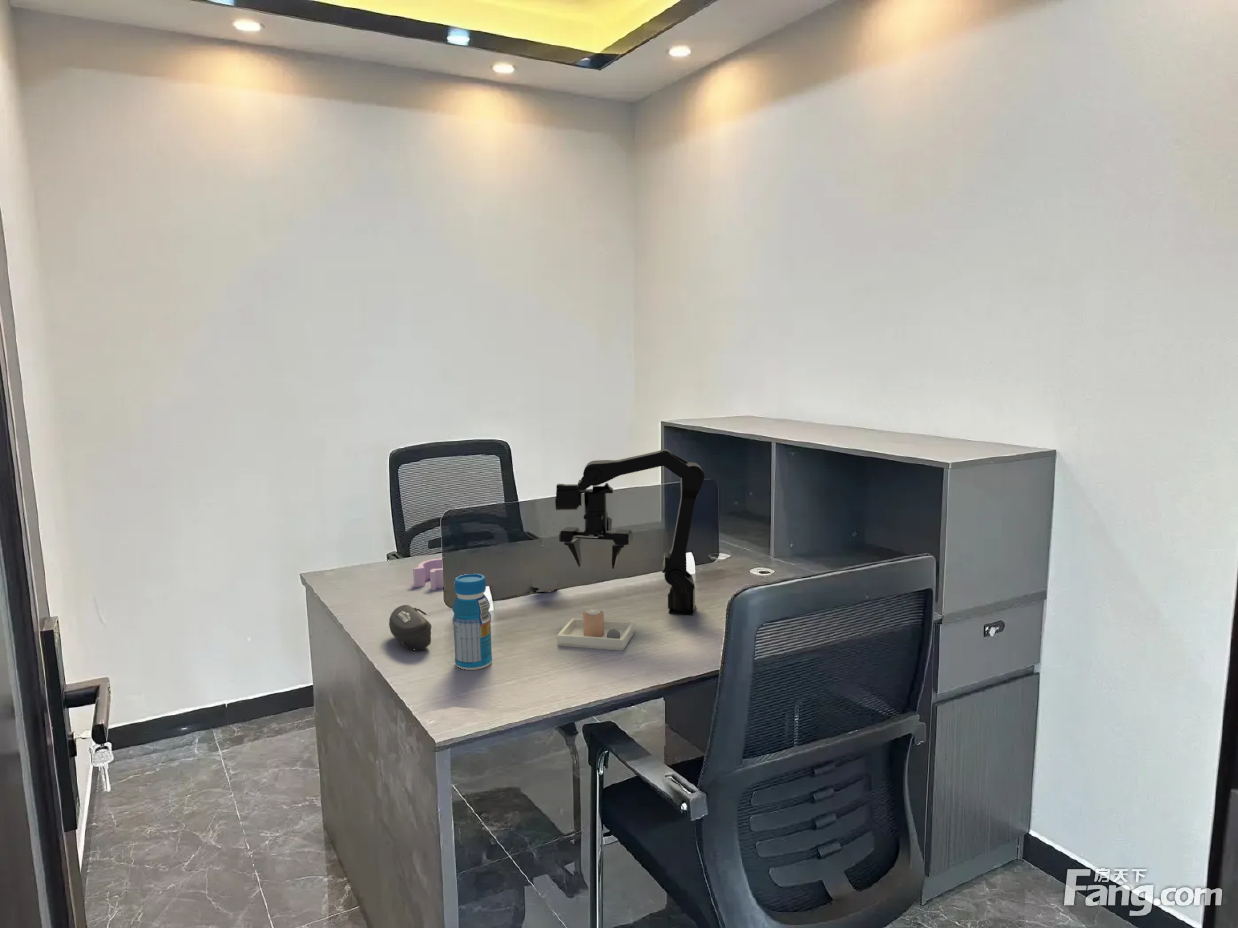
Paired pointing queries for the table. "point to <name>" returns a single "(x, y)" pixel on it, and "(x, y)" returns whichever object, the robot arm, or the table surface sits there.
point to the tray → (576, 638)
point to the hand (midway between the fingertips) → (596, 567)
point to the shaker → (593, 623)
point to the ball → (613, 634)
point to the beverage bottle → (471, 623)
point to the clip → (429, 573)
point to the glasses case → (410, 627)
